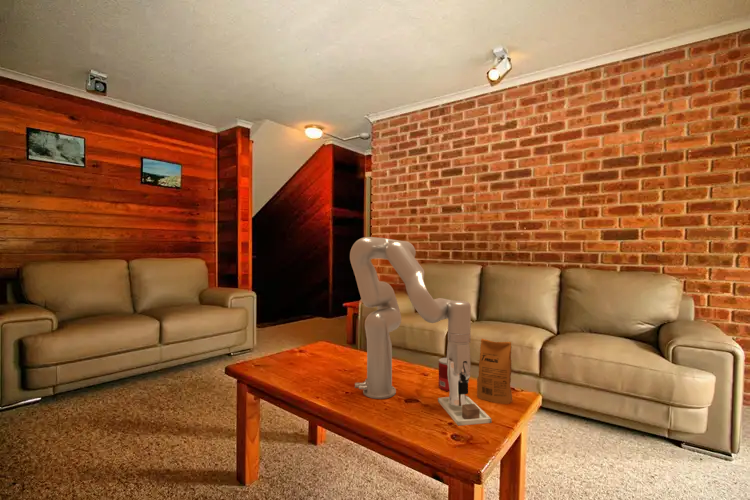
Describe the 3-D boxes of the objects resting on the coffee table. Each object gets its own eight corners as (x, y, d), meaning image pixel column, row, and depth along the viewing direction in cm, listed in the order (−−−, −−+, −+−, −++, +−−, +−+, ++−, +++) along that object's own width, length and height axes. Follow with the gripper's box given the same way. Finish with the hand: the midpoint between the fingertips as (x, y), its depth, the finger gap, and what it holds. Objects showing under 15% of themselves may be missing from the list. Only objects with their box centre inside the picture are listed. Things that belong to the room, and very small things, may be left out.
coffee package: (480, 392, 140) (480, 335, 140) (514, 399, 133) (514, 339, 133) (473, 401, 131) (473, 340, 131) (509, 409, 125) (509, 345, 125)
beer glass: (444, 399, 127) (445, 356, 127) (463, 398, 127) (464, 356, 127) (450, 408, 120) (451, 362, 120) (470, 407, 120) (471, 362, 120)
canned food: (459, 392, 139) (459, 364, 139) (438, 390, 141) (438, 362, 141) (458, 385, 147) (458, 358, 147) (438, 383, 149) (438, 356, 149)
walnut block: (467, 423, 112) (467, 410, 112) (462, 417, 116) (462, 404, 116) (479, 421, 113) (479, 409, 113) (473, 416, 117) (473, 403, 117)
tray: (458, 429, 111) (458, 421, 111) (437, 404, 129) (437, 397, 129) (491, 426, 113) (491, 418, 113) (467, 402, 130) (467, 395, 130)
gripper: (439, 331, 131) (439, 381, 132) (458, 344, 114) (458, 401, 115) (459, 331, 133) (459, 380, 133) (481, 343, 116) (480, 399, 116)
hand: (458, 389), depth 124 cm, fingers closed on beer glass, 6 cm apart
